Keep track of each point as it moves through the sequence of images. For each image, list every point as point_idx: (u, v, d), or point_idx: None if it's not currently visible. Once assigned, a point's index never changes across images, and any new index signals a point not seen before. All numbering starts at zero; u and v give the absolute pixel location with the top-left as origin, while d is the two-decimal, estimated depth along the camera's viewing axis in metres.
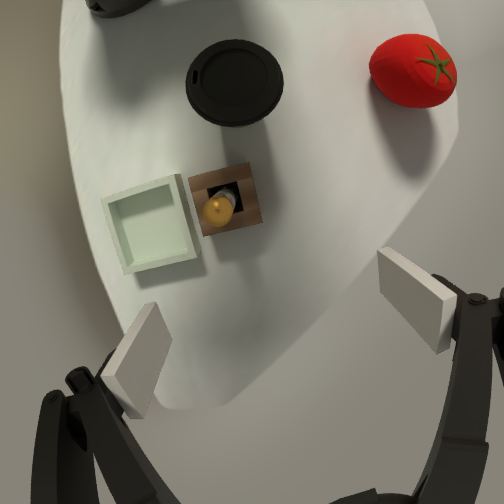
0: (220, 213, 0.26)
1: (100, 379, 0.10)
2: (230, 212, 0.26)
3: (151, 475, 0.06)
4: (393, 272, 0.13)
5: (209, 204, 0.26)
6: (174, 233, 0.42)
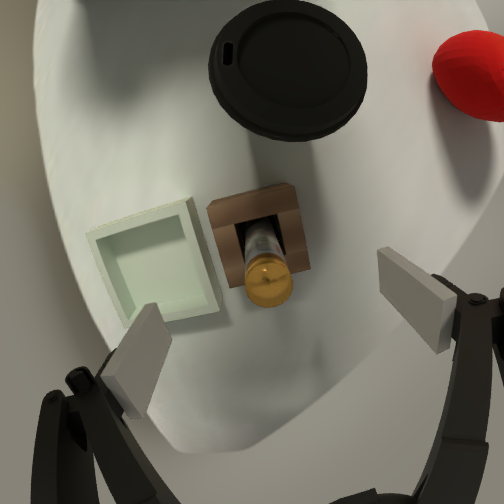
0: (274, 288, 0.17)
1: (100, 378, 0.10)
2: (290, 286, 0.17)
3: (151, 475, 0.06)
4: (393, 272, 0.13)
5: (256, 275, 0.16)
6: (187, 276, 0.32)
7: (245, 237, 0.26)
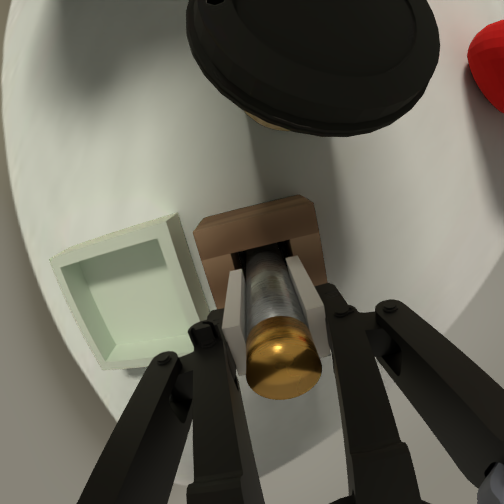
0: (292, 376, 0.10)
1: None
2: (317, 373, 0.10)
3: (244, 450, 0.06)
4: (292, 280, 0.16)
5: (265, 360, 0.09)
6: (173, 311, 0.25)
7: (246, 271, 0.19)
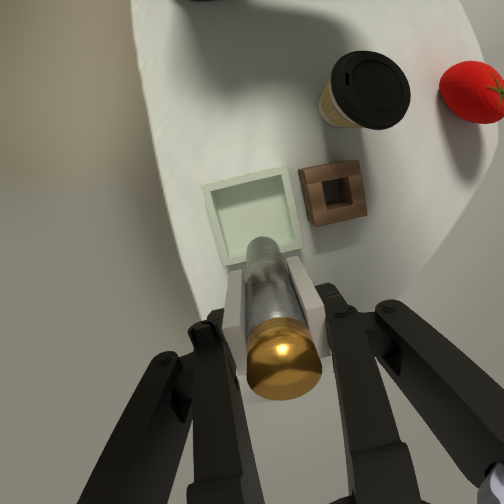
0: (292, 377, 0.10)
1: None
2: (317, 374, 0.10)
3: (244, 450, 0.06)
4: (292, 280, 0.16)
5: (265, 361, 0.09)
6: (275, 224, 0.43)
7: (246, 272, 0.19)
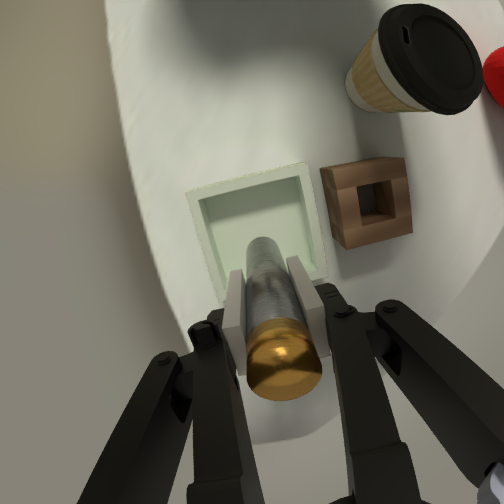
0: (292, 378, 0.10)
1: None
2: (317, 374, 0.10)
3: (244, 450, 0.06)
4: (292, 280, 0.16)
5: (265, 362, 0.09)
6: (289, 243, 0.31)
7: (246, 272, 0.19)
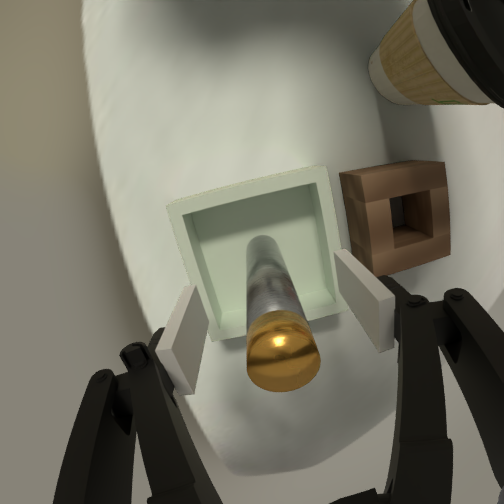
0: (291, 368, 0.10)
1: None
2: (316, 365, 0.10)
3: (193, 460, 0.06)
4: (345, 273, 0.15)
5: (265, 352, 0.10)
6: (300, 267, 0.25)
7: (246, 269, 0.19)
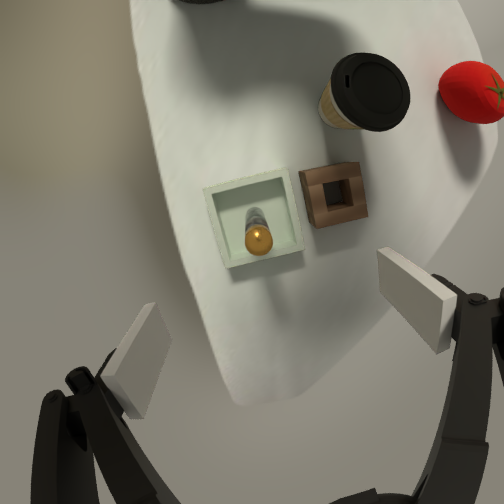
0: (261, 243, 0.28)
1: (100, 378, 0.10)
2: (271, 242, 0.28)
3: (151, 475, 0.06)
4: (393, 272, 0.13)
5: (251, 235, 0.28)
6: (277, 226, 0.43)
7: (245, 221, 0.38)
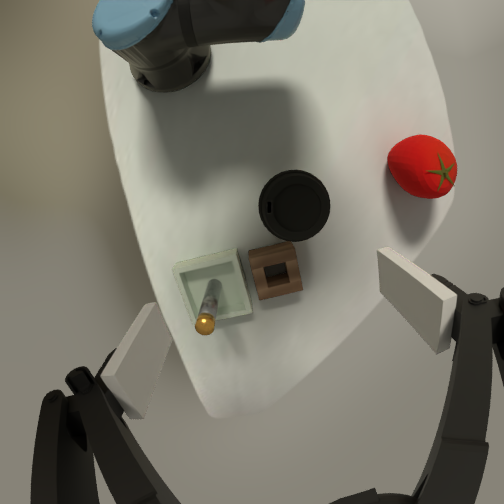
0: (206, 328, 0.40)
1: (100, 378, 0.10)
2: (212, 327, 0.40)
3: (151, 475, 0.06)
4: (393, 272, 0.13)
5: (199, 323, 0.40)
6: (232, 292, 0.55)
7: None
